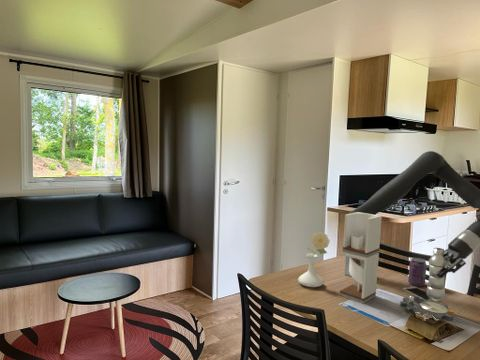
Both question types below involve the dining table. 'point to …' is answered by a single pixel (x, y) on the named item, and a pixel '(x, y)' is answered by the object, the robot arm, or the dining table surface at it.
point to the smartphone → (418, 293)
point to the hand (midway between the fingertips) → (433, 273)
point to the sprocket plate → (426, 307)
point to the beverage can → (417, 272)
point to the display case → (362, 254)
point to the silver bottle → (435, 283)
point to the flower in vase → (310, 276)
